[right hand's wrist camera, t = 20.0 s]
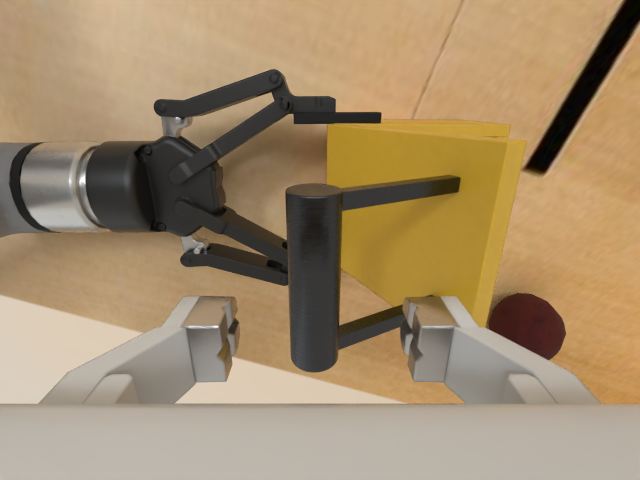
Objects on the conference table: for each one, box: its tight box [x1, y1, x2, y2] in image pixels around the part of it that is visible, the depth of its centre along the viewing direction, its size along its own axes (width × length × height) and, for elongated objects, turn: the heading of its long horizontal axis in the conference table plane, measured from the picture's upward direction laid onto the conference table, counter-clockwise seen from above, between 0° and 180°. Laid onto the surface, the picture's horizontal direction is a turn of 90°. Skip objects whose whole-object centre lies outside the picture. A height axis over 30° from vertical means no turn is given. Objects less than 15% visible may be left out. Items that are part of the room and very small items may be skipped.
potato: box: [489, 293, 566, 360], centre depth 37 cm, size 7×8×7 cm
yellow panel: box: [286, 124, 527, 372], centre depth 18 cm, size 14×10×9 cm
